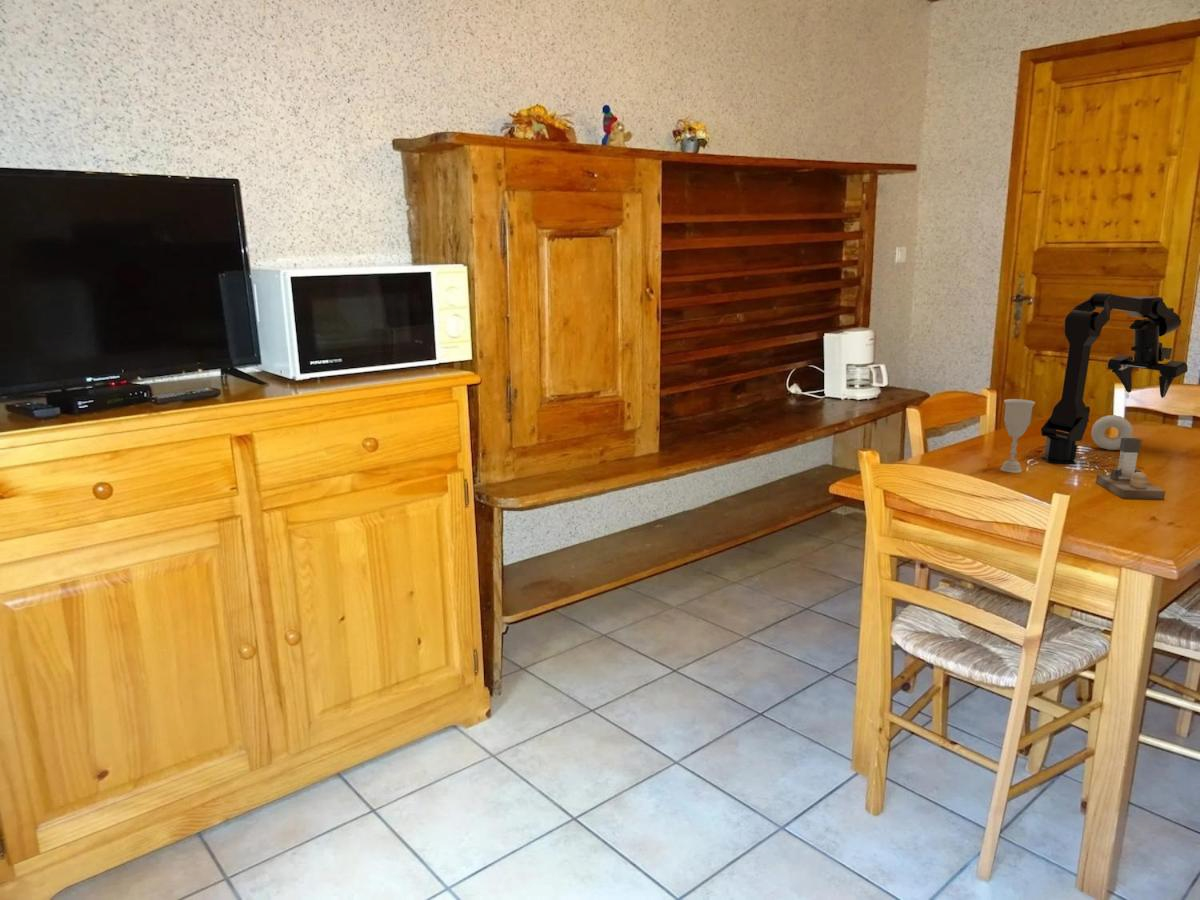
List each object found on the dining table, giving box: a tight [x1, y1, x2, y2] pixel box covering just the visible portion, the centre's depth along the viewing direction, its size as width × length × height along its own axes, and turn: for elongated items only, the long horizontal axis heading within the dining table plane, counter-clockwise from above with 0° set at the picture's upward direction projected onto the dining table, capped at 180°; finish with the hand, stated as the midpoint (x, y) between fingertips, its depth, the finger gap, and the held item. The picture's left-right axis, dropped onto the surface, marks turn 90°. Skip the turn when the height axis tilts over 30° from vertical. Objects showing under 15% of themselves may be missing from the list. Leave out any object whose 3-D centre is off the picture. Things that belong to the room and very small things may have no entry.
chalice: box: [999, 398, 1036, 474], centre depth 213 cm, size 7×7×18 cm
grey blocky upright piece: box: [1117, 437, 1142, 477], centre depth 198 cm, size 2×3×9 cm, turn 84°
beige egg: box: [1130, 471, 1148, 489], centre depth 193 cm, size 3×3×4 cm
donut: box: [1091, 414, 1134, 451], centre depth 234 cm, size 10×4×10 cm, turn 59°
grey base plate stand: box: [1095, 468, 1166, 501], centre depth 197 cm, size 13×9×4 cm
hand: (1145, 394), depth 234 cm, fingers open, 9 cm apart
